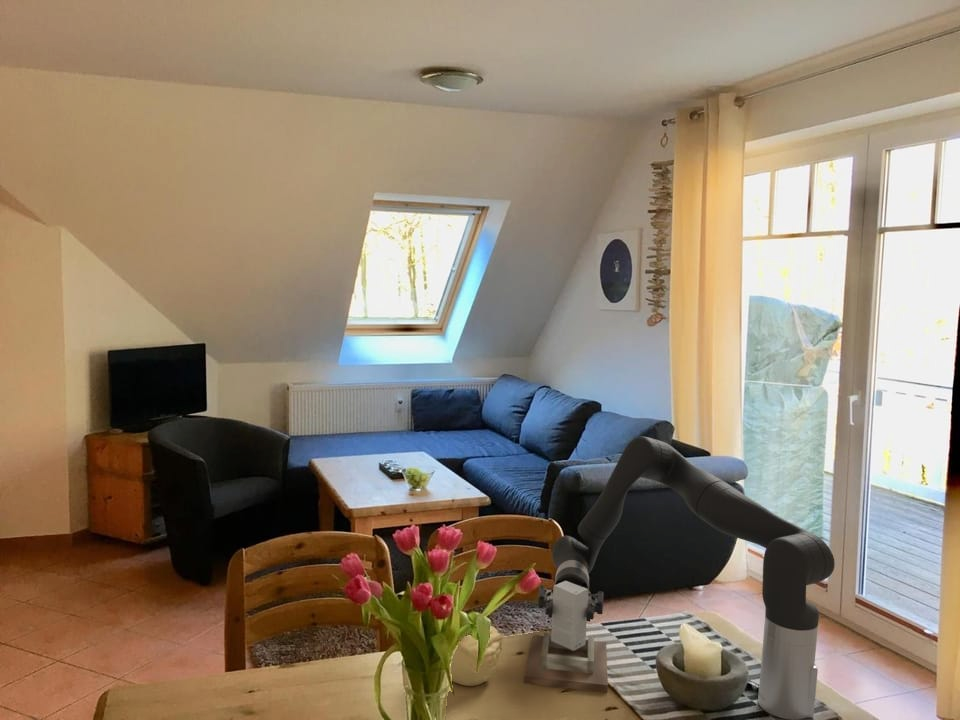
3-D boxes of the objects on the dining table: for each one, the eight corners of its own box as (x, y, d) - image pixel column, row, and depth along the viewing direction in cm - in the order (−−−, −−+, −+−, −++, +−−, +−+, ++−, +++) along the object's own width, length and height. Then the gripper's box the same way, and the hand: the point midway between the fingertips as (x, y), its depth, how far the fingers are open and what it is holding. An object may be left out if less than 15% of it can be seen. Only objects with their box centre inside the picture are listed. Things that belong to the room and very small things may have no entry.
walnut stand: (605, 648, 168) (606, 631, 167) (607, 692, 150) (608, 672, 150) (531, 641, 170) (532, 623, 169) (524, 683, 152) (525, 663, 152)
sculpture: (479, 699, 146) (481, 644, 144) (427, 680, 152) (428, 627, 151) (509, 674, 155) (512, 622, 154) (459, 657, 162) (461, 607, 160)
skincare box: (586, 645, 159) (589, 589, 158) (573, 651, 156) (576, 594, 155) (562, 634, 163) (565, 579, 162) (549, 641, 160) (552, 585, 159)
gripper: (540, 563, 173) (534, 593, 157) (605, 569, 171) (606, 600, 155) (538, 595, 174) (533, 629, 158) (603, 601, 172) (604, 636, 156)
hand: (569, 615), depth 157 cm, fingers closed on skincare box, 7 cm apart
